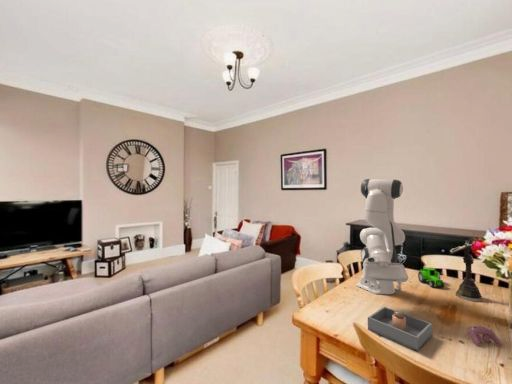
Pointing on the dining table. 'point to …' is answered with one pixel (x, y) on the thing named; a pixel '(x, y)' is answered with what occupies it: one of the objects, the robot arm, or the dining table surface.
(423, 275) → the toy tractor
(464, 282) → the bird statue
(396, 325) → the jar
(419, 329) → the bin
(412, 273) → the dining table surface
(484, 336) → the purple animal figurine
